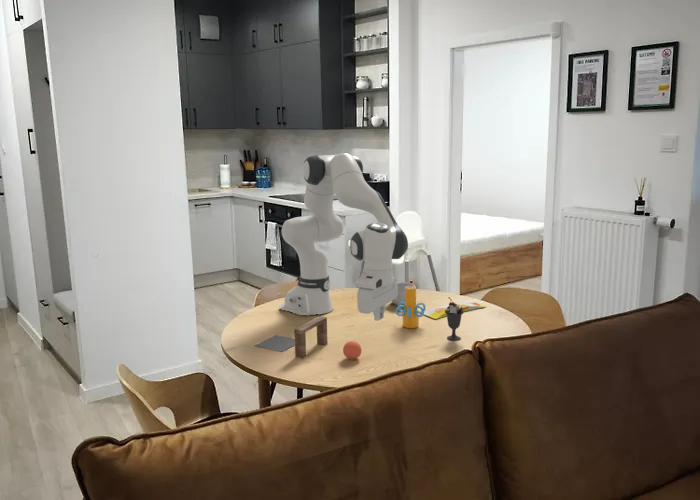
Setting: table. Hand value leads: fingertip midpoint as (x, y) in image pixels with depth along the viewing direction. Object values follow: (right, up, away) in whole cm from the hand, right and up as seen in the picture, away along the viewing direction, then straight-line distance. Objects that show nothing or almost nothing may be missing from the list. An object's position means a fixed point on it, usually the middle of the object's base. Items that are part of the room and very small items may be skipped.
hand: (378, 319), depth 195 cm
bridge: (-22, -12, +16) cm, 30 cm away
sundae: (+27, -10, +25) cm, 38 cm away
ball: (-8, -11, +8) cm, 16 cm away
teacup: (+13, -1, +68) cm, 69 cm away
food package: (+33, -4, +56) cm, 65 cm away
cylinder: (+14, -7, +39) cm, 42 cm away
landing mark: (-34, -11, +23) cm, 43 cm away
